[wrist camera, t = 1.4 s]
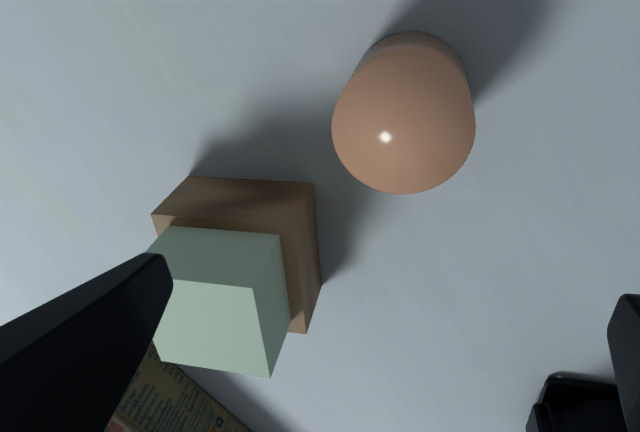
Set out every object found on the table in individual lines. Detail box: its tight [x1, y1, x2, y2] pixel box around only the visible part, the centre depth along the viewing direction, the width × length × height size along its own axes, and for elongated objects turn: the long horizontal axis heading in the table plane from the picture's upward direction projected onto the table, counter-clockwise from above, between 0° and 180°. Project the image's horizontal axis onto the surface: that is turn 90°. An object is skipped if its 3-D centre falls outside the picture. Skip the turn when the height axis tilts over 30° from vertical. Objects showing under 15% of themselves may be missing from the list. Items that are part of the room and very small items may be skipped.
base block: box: [151, 176, 322, 334], centre depth 23 cm, size 7×7×4 cm
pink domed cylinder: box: [332, 31, 476, 194], centre depth 16 cm, size 5×5×4 cm
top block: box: [146, 226, 291, 378], centre depth 20 cm, size 6×6×4 cm
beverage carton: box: [104, 344, 251, 432], centre depth 34 cm, size 8×19×7 cm, turn 38°
